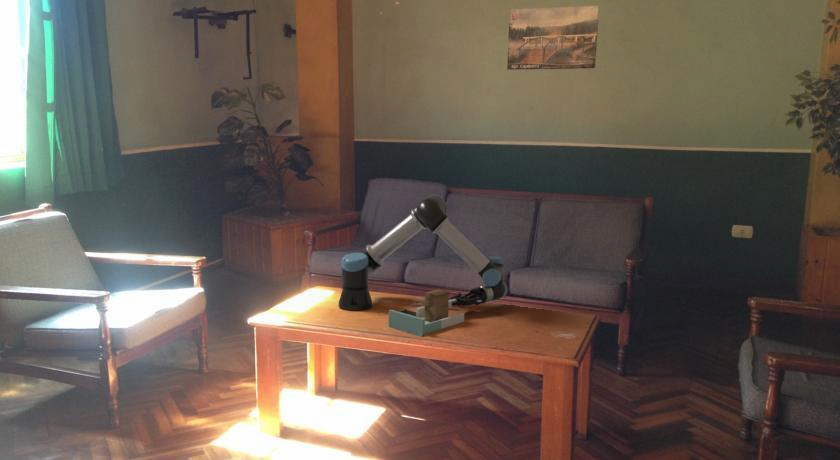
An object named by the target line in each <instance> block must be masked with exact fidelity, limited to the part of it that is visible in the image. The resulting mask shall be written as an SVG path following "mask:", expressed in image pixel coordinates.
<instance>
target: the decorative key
mask: <svg viewBox="0 0 840 460" xmlns="http://www.w3.org/2000/svg"><path fill="white" fill-rule="evenodd" d="M449 300H451V298H449ZM409 305H410V306H412V307H414V308H417V307H418V306H421V307H425V299H424V300H423V299H420V303H417V301H414V302H412V303H410V304H409ZM448 310H450V308H448Z"/></svg>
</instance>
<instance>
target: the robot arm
mask: <svg viewBox="0 0 840 460" xmlns="http://www.w3.org/2000/svg"><path fill="white" fill-rule="evenodd" d="M447 207H448V206H447V203H446V201H445V200H444V198H443V197H441V196H439V195H437V194H430V195H427V196H425V198H423V199H422V200H420V201H419V202H418V203H417V204H416V205H415V206H414V207H412V208H411V213H410V214H409V215H408V216H406V217H405V218H404V219H403V220H402V221H400V222H399V223H398V224H397V225H395V226H394V227H393V228H392V229H390V230H389V231H388V232H387V233H386V234H384V235H383V236H381V238H379V239H378V240H376V242H374V243H373V244H367V245H366V246H364V247H363V248H362V249H360V250H359V251H358V252H350V253H347V254H345V255H344V256H343V257H342V259H341V282H342V284H341V286H342V288H341V294H340V295H339V296H340V297H339V300H338V308H339V309H341V310H345V311H364V310H365V311H366V310H369V309H370V308H373V300H372V296H371V294H370V290H369V276H371V275H373V273H375V272H376V271H377V270H378V269H379V268H381V267H382V266H383V265H384V264H385V260H386V259H387V258H388V257H390V255H392V254H393V253H394V252H395V251H398V249H400V248H401V247H402V246H403V245H404V244H405V243H407V242H408V241H409V240H411V239H412V238H413V237H414V236H415V235H417V234H418V233H419V232H420V231H422V230H429V231H430V232H431V233H432V234H436V235H438V237H440V238H441V239H442V240H443V241H444V243H445V244H447V245H448V246H449V247H450V248H451V249H452V250H453V251H454V252H455V253H456V254H457V255H458V256H459V257H460V258H461V259H462V260H463V261H464V262H465V263H466V264H468V266H469V267H470V268H471V269H472V270H473V271H475V272H476V273H477V275H478V276H479V277H480V278H481V279H482V281H483V283H484V285H480V286H478V287H473V288H472V289H470V291H469V292H466V293H461V292H458V293H457V294H456V295H452V296H451V297H450V300H449V302H448V308H451V309H452V308H454V307H460V306H461V307H467V306H472V305H473V306H474V305H475V306H476V305H477V306H478V305H483V304H486V303H489V302H491V301H496V300H499V299H501V298H502V299H503V298H504V297H505V296H507V294H508V286H507V284H506V283H505V282H504V280H503V279H504V265H505V264H504V258H503V257H501V256H497V255H495V256H488V257H487V256H485V255H484V254H483V253H482V252H481V251H479V249H478V248H477V247H476V246H475V245H474V244H473V243H472V242H471V241H470V240H468V239H467V237H466V236H465V235H463V233H462V232H461V231H459V229H458V228H457V227H455V226H454V224H452V223H451V222H450V220H449V217H448V215H447Z"/></svg>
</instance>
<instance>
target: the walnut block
mask: <svg viewBox="0 0 840 460" xmlns="http://www.w3.org/2000/svg"><path fill="white" fill-rule="evenodd" d="M449 293H450V292H449V291H447V290H442V289H439V288H438V289H433V290H430V291H429V290H428V291H427V292H424V301H425V306H424V307H425V321H428V322H434V321H437V320H441V319H444V318H447V317H449V309H448V302H449V299H450V297H449V295H450V294H449Z"/></svg>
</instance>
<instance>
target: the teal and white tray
mask: <svg viewBox="0 0 840 460" xmlns="http://www.w3.org/2000/svg"><path fill="white" fill-rule="evenodd" d="M398 311H399V310H398ZM398 311H397V310H395V309H389V310H388V328H391V329H395V330H397V331H401V332H404V333H407V334H411V335H414V336H418V337H421V338H425V337H426V334H429V333H433V332H436V331H440V330H442V329H446V328H449V327H452V326H455V325H458V324H462V323H465V313H464V312H462V313H458V314H457V313H456V314H454V315H451V316H448V317H447V318H444V319H441V320H437V321H434V322H428V321H425V306H421V307H418V308H417V307H416V308H415V312H416V316H412V315H409V314H405V313H402V312H398Z"/></svg>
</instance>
